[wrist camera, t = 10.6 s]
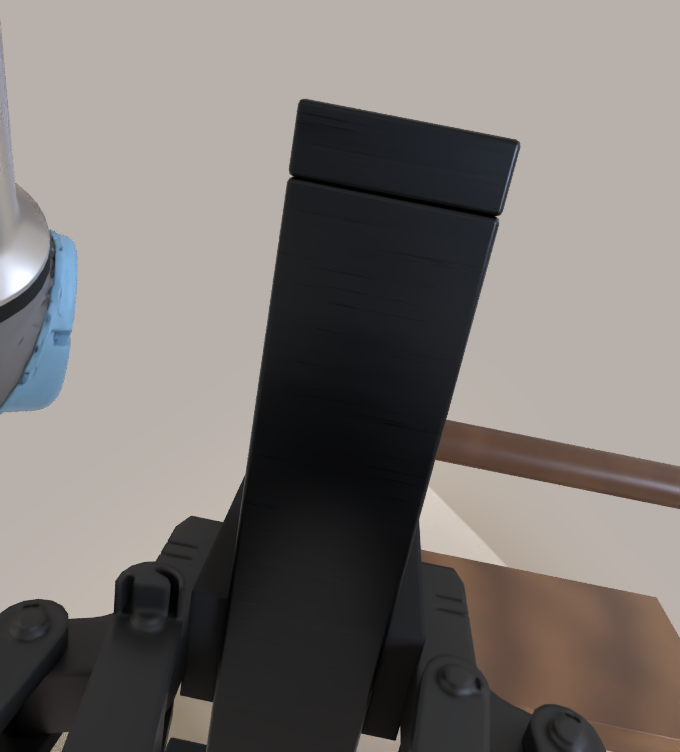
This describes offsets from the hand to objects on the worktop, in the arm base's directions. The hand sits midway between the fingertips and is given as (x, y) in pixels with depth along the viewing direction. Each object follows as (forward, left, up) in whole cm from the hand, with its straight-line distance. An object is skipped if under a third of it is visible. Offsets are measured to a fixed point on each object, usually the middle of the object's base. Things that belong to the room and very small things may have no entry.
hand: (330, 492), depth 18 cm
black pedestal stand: (+1, -3, -10) cm, 11 cm away
